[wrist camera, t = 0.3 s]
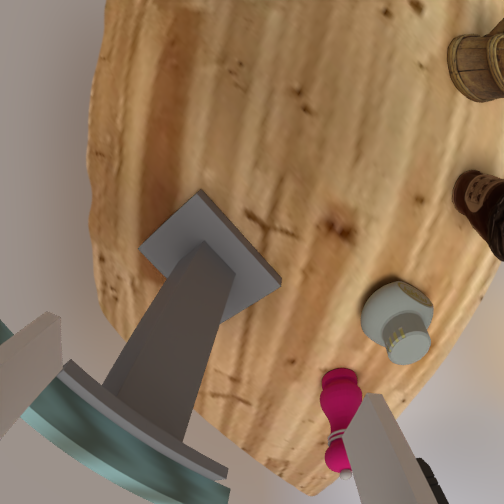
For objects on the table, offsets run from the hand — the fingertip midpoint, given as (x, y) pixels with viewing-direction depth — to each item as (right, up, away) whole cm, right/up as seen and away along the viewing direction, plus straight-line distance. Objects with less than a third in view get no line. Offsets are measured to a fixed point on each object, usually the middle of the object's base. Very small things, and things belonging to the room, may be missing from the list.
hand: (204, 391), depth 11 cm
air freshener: (+23, -2, +31) cm, 39 cm away
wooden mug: (+30, +30, +14) cm, 45 cm away
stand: (-4, +4, +31) cm, 32 cm away
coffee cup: (+31, +13, +22) cm, 40 cm away
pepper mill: (+17, -17, +40) cm, 46 cm away
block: (-10, -5, +5) cm, 12 cm away
